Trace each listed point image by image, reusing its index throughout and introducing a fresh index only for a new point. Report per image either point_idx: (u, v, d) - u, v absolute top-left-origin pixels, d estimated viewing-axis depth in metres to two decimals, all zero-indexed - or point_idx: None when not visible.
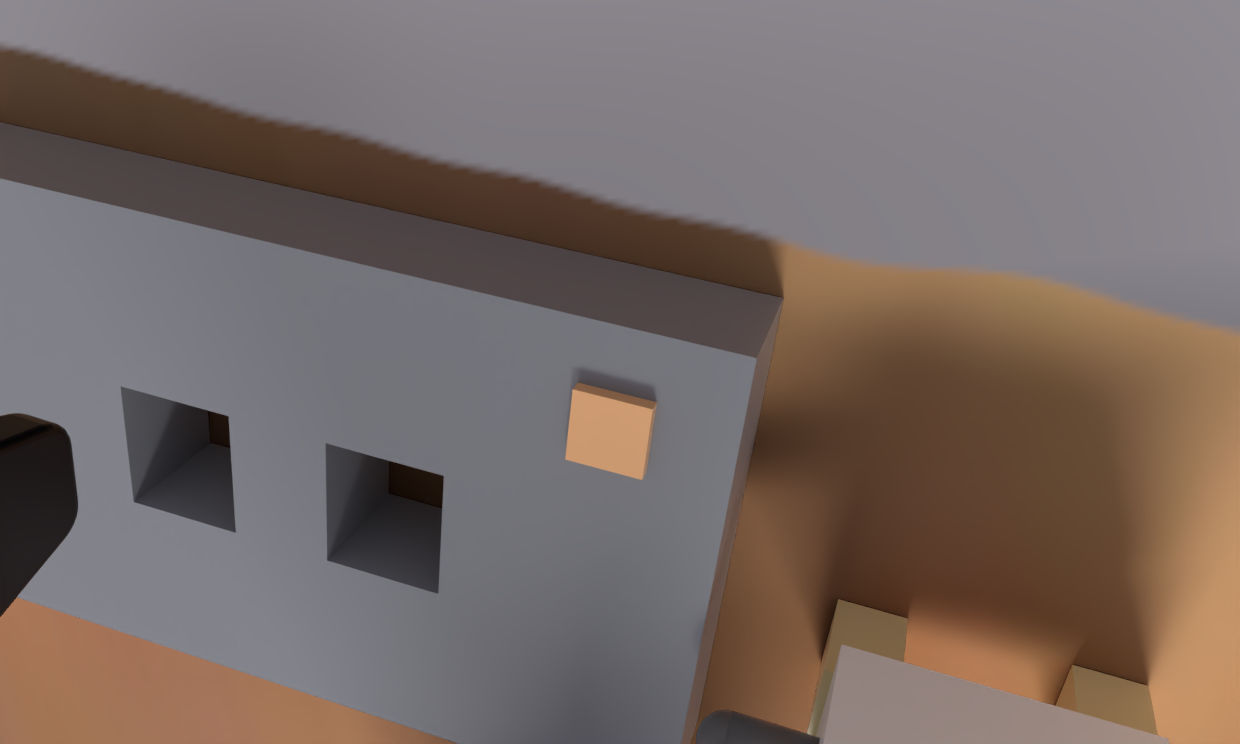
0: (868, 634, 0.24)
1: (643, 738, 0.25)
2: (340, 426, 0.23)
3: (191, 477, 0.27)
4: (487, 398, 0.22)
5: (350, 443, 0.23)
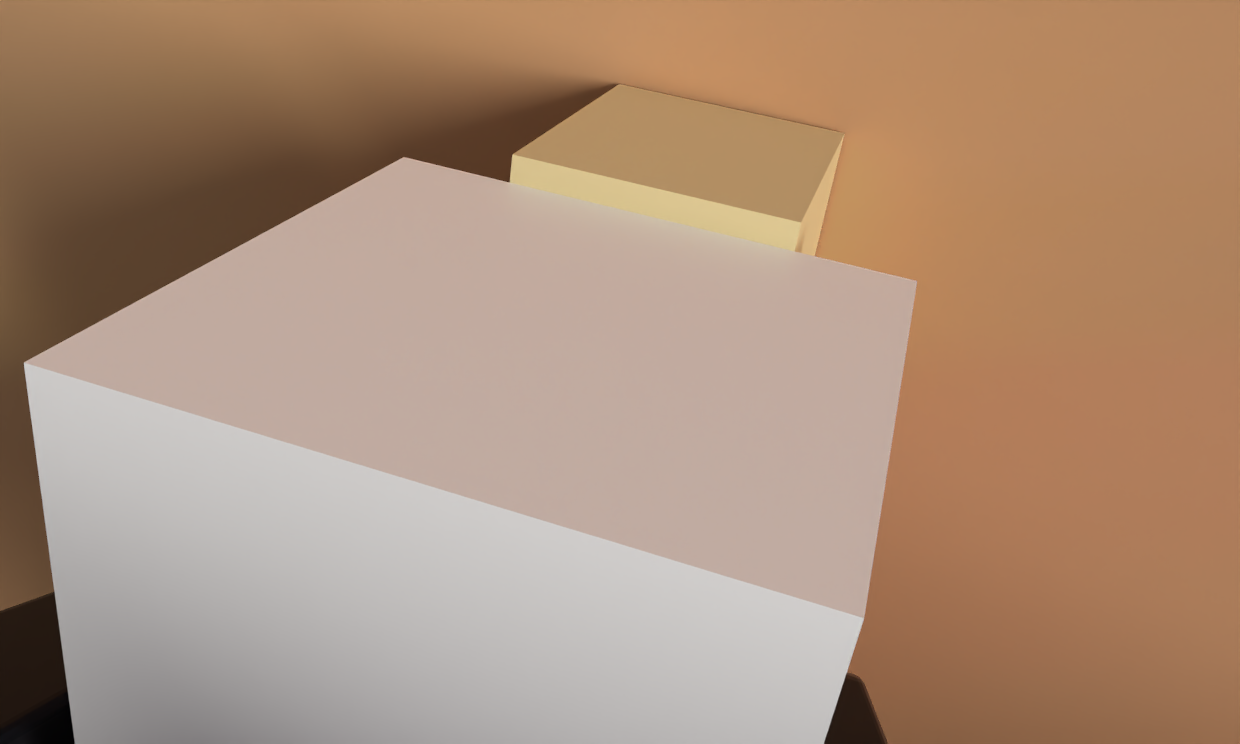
0: None
1: None
2: None
3: None
4: None
5: None
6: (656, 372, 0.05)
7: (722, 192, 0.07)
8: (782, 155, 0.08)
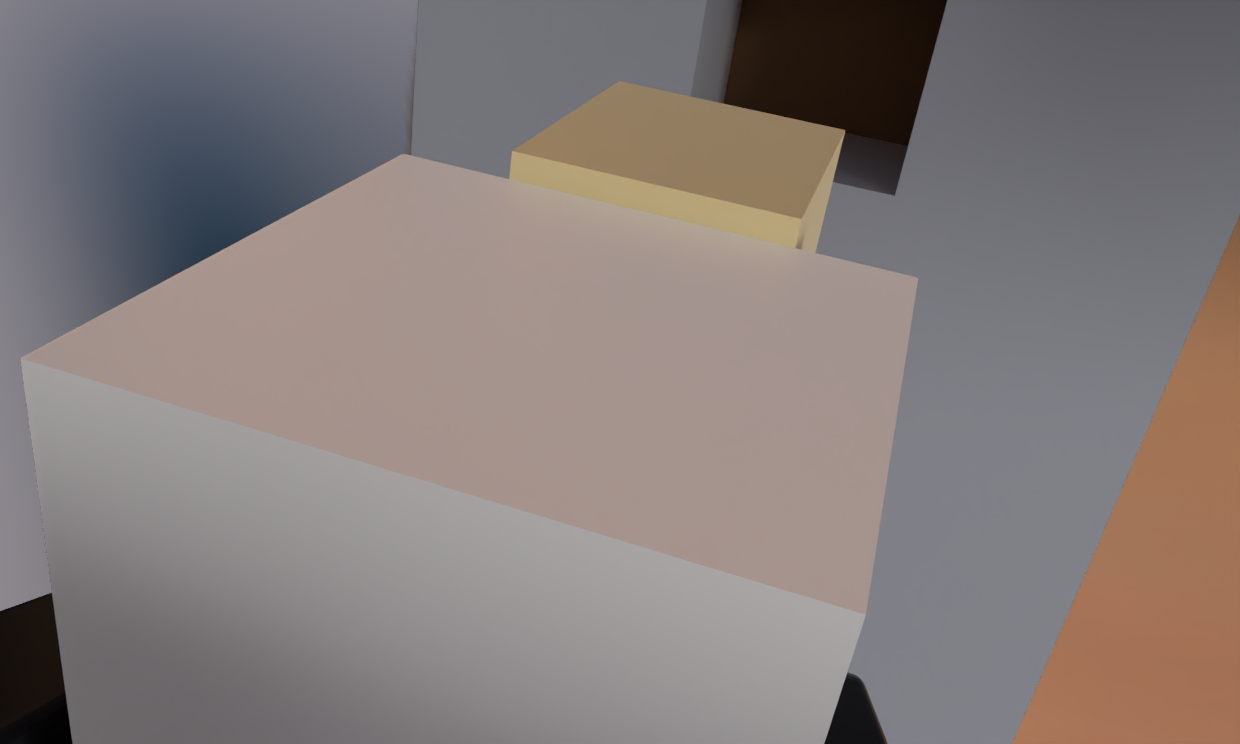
0: None
1: None
2: None
3: None
4: None
5: None
6: (656, 369, 0.05)
7: (722, 188, 0.07)
8: (783, 153, 0.08)
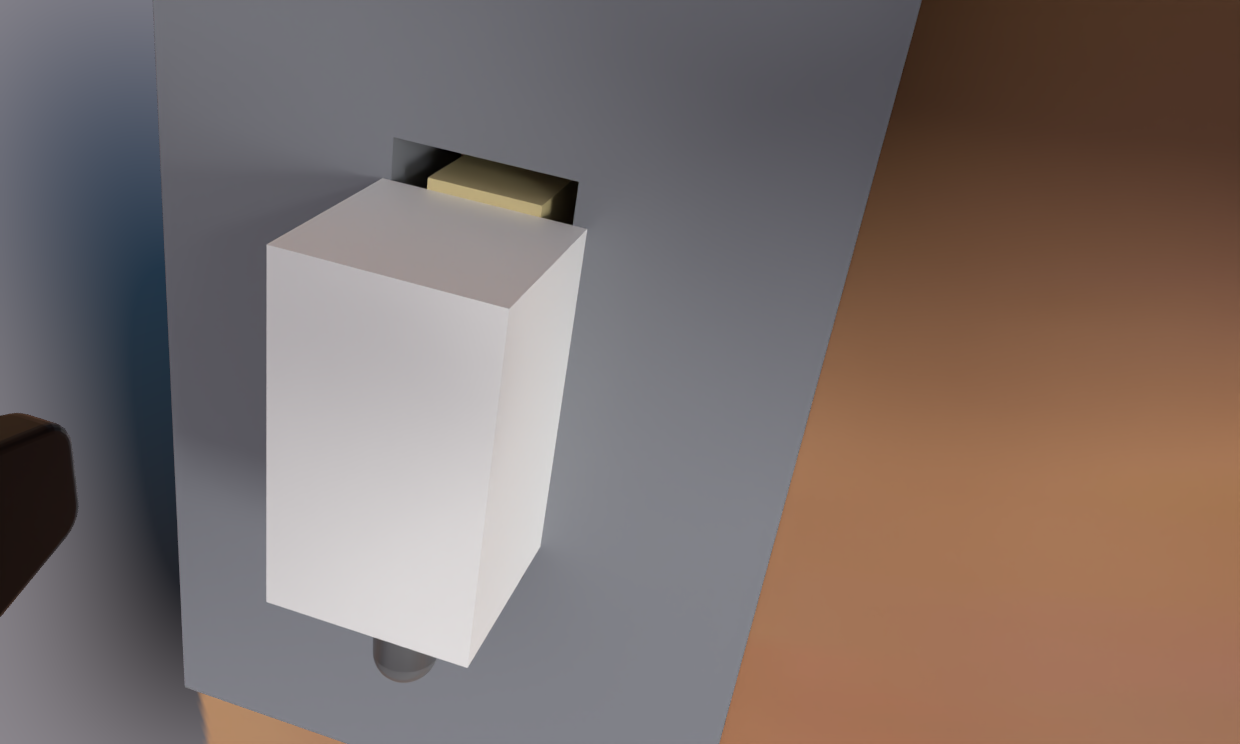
0: None
1: None
2: None
3: None
4: (276, 56, 0.18)
5: None
6: (469, 253, 0.16)
7: (514, 193, 0.18)
8: (550, 177, 0.19)
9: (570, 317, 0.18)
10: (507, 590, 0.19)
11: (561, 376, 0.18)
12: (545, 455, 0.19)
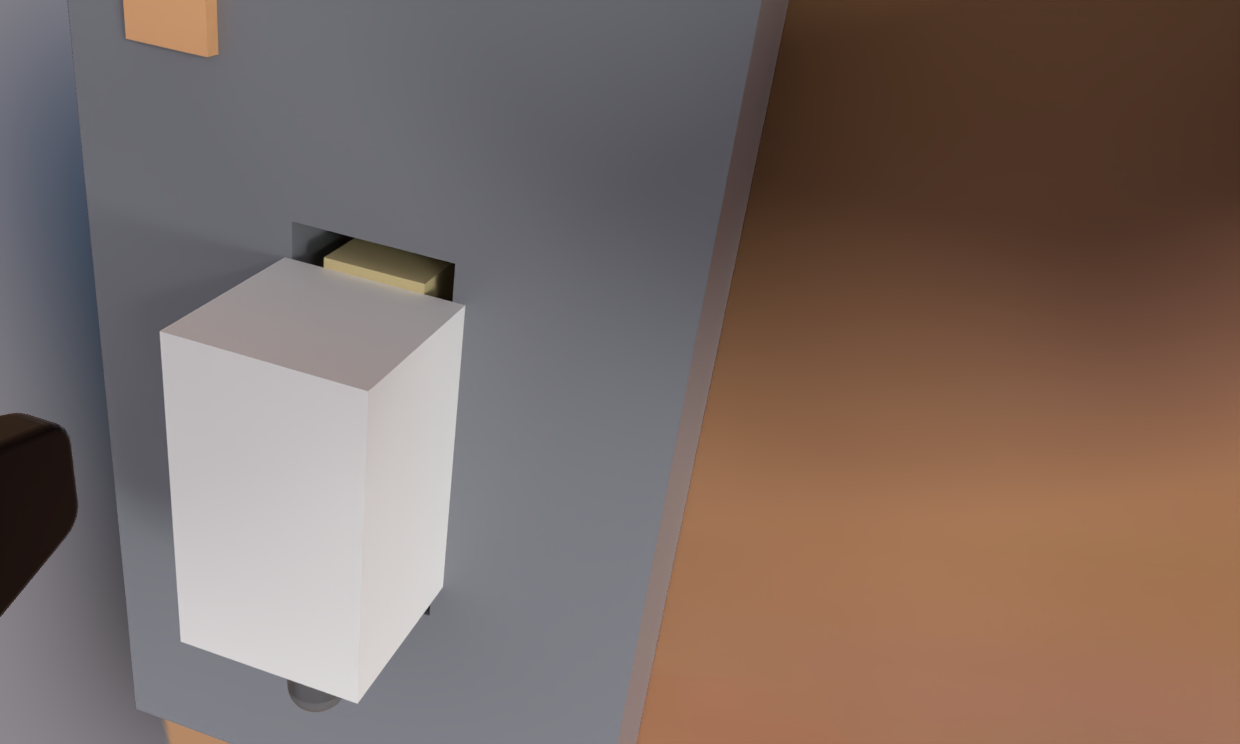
0: None
1: None
2: None
3: None
4: (186, 148, 0.20)
5: None
6: (346, 335, 0.18)
7: (401, 271, 0.20)
8: None
9: (453, 384, 0.20)
10: (402, 630, 0.21)
11: (449, 436, 0.20)
12: (437, 507, 0.21)
